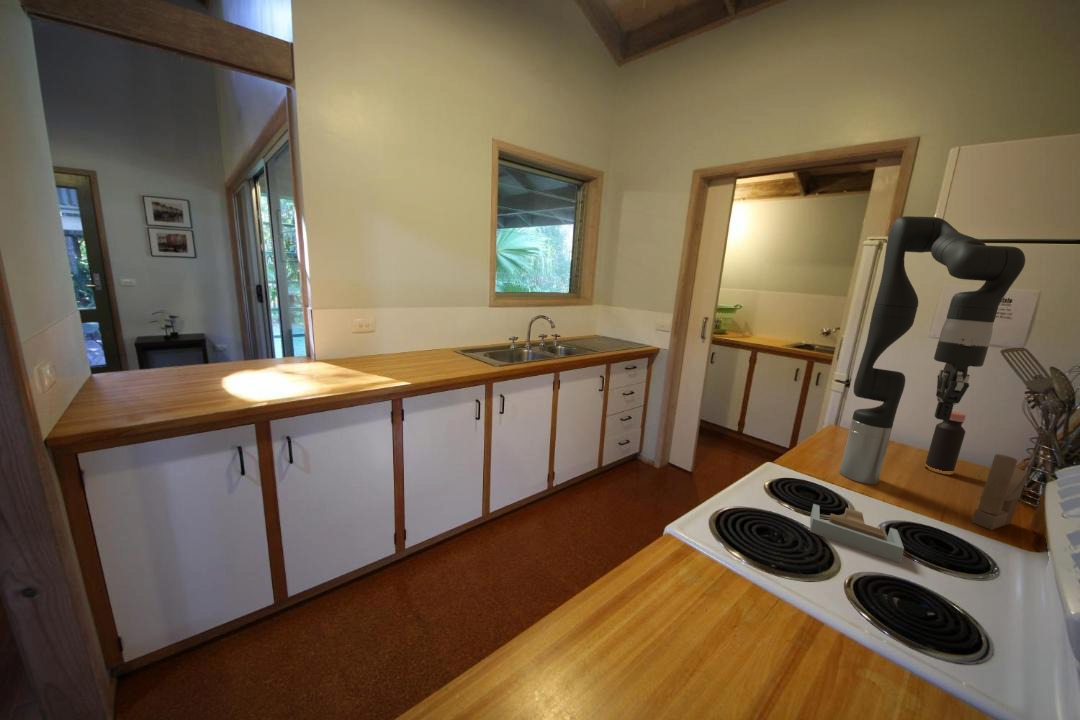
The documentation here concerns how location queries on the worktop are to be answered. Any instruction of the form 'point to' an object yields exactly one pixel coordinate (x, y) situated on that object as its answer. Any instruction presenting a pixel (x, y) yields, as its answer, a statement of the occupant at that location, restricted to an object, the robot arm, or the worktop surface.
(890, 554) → the bracket
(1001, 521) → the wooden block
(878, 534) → the t block
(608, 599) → the worktop surface
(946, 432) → the bottle
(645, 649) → the worktop surface
